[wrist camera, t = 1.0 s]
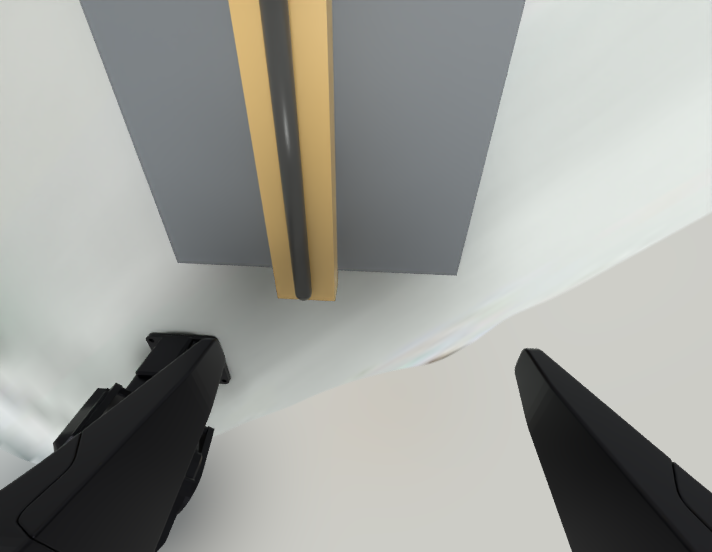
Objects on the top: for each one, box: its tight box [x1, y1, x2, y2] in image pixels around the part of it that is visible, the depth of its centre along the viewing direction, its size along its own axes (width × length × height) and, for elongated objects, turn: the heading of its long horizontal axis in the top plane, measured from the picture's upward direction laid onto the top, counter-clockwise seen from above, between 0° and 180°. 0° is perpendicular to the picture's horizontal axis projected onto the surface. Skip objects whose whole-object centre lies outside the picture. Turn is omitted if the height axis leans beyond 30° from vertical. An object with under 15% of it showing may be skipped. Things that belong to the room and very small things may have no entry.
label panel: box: [79, 0, 525, 275], centre depth 17 cm, size 19×20×2 cm
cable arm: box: [228, 0, 338, 301], centre depth 15 cm, size 19×4×3 cm, turn 179°
